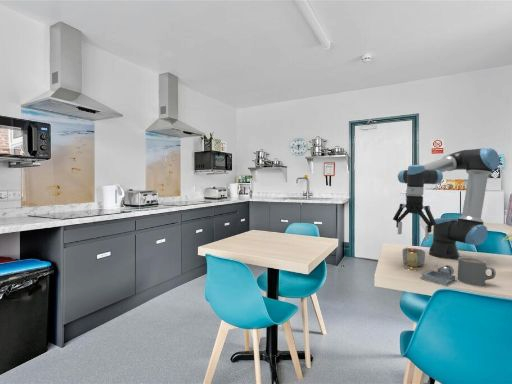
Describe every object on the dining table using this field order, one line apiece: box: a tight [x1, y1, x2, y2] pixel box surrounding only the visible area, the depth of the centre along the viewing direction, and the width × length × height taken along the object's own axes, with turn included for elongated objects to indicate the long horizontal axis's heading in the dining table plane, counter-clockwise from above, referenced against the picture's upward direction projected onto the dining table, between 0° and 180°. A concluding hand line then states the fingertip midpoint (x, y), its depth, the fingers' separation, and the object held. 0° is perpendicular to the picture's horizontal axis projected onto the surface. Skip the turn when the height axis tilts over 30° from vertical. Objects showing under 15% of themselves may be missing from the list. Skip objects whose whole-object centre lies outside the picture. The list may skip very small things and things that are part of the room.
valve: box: [404, 248, 419, 271], centre depth 146 cm, size 6×6×10 cm
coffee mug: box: [456, 256, 497, 287], centre depth 127 cm, size 13×10×10 cm
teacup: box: [401, 247, 426, 267], centre depth 154 cm, size 14×11×8 cm
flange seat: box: [419, 265, 458, 287], centre depth 131 cm, size 17×11×5 cm, turn 126°
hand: (412, 236), depth 145 cm, fingers open, 13 cm apart
